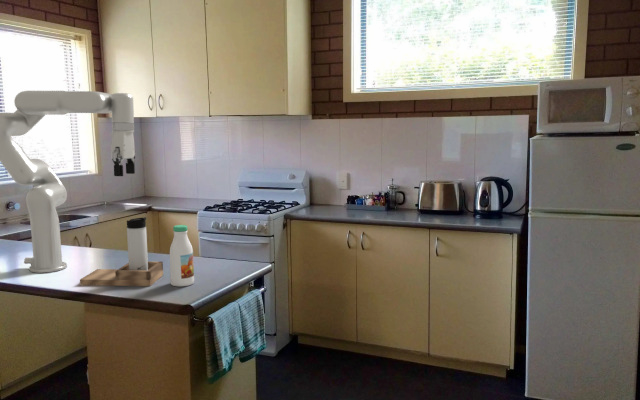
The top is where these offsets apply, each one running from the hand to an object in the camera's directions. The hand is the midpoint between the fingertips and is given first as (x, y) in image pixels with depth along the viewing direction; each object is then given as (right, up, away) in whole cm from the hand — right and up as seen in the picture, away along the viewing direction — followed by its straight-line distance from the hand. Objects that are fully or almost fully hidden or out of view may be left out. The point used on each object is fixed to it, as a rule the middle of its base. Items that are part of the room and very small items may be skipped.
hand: (124, 174), depth 200 cm
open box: (+3, -37, -11) cm, 39 cm away
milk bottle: (+25, -38, -15) cm, 48 cm away
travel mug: (+9, -35, -11) cm, 38 cm away
